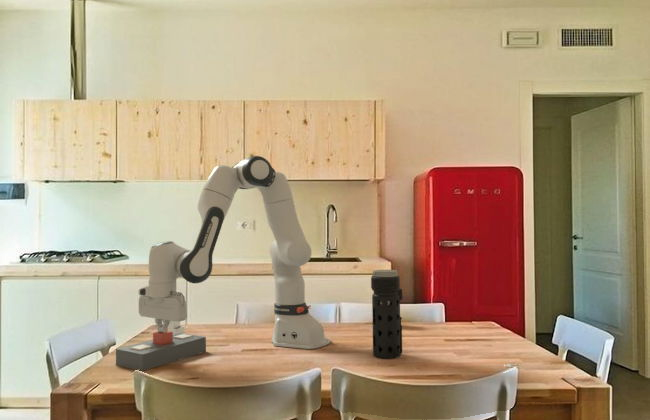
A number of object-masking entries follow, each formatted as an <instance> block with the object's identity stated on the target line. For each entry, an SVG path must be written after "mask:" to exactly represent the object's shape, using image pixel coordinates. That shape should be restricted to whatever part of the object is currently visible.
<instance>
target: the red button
mask: <svg viewBox="0 0 650 420" xmlns="http://www.w3.org/2000/svg"><path fill="white" fill-rule="evenodd" d="M152 340H153V344H157V345H165V344H169V343H173V332H171V331H169V330H168V331H167V332H166V333H161V332H158V331H156V332H152Z"/></svg>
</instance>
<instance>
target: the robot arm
mask: <svg viewBox="0 0 650 420" xmlns="http://www.w3.org/2000/svg"><path fill="white" fill-rule="evenodd" d="M255 188H256V189H258V191H259V192H260V194H261V196H262V200H263V206H264V211H265V214H266V219H267V224H268V226H269V228H270V229H271V232H272V234H273V237H274V240H273V241H272V242H271V244H270V246H269V255H270V258H271V264H272V270H273V277H274V286H275V287H274V292H275V293H274V294H275V296H274V298H275V299H274V301H275V302H274V305H273V310H274V311H273V313H274V326H273V333H272V338H271V340H270V341H271V343H273V344H272V345H273V346H275V347H284V348H295V349H306V350H313V349H318V348H319V349H320V348H322V347H325V346H326V345H327V346H328V345H329V344H330V343H331V342H332V341H331V338H329V337H326V336H325V329H324V326H323V324H321V322H319V320H317V319H316V318H315V317H314V316H313V315H311V314H310V312H309V310H310V309H311V305H308V304H307V303H306V302H305V301H306V299H305V296H306V295H305V293H306V292H305V284H306V283H305V279H304V277H303V274H302V269H301V267H303V266H304V265H306V264H307V263H308V262H310V259H311V258H312V257H311V256H312V248H311V245H310V244H309V243H308V241H307V239H306V237H305V234H304V232H303V229H302V227H301V224H300V222H299V219H298V215H297V212H296V210H297V209H296V205H295V202H294V198H293V194H292V190H291V187H290V184H289V181H288V179H287V177H286V176H285V174H284V173H282V172H279V171H276V170H275V169H274V168H273V167H272V165H271V163H270V162H269V161H268V160H267V159H266V158H265V157H263V156H260V155H252V156H250V157H246V158H242V160H240V161H239V162H236V163H235V164H234V165H233V166H228V165H225V164H224V165H223V164H221V165H217V166H214V168H213V170H212V171H211V173H210V174H209V175H208V178H207V179H206V181H205V184H204V186H203V188H202V189H201V192H200V195H199V198H198V202H197V203H198V204H197V210H198V213H199V214H200V218H201V225H200V229H199V232H198V234H197V237H196V240H195V242H194V246H193V248H192V249H191V250H190V249H187V248H185V247H183V246H180V245H179V244H176V243H175V242H174V241H170V240H169V241H163V242H157V243H155V244H153V245H152V246H151V247H150V249H149V255H148V271H149V279H148V284H147V285H146V286H143V287H141V288H139V289H138V295H139V298H138V313H139V316H140V317H145V318H150V319H154V323H155V326H156V327H157V332H161V333H166V332H167V331H169V323H170V321H177V322H179V321H180V322H183V321H186V319H188V307H187V302H186V297H185V296H184V294H183V292H181V291H177V279H178V278H182V279H185V281H187V282H188V283H191V284H201V283H203V282H205V281H206V280H207V279H208V278H209V277H210V276H211V274H212V272H213V271H212V270H213V254H214V251H215V248H216V247H215V246H216V244H217V241H218V239H219V235H220V233H221V229H222V226H223V223H224V221H225V218H226V217H227V214H228V211H229V210H230V208H231V206H232V202H233V201H234V197H235V194H236V193H237V191H238V190H239V189H240V190H250V189H255Z"/></svg>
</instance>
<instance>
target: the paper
mask: <svg viewBox="0 0 650 420" xmlns="http://www.w3.org/2000/svg"><path fill="white" fill-rule="evenodd" d="M453 356H454V357H456V356H458V354H453ZM513 366H517V367H518V368H517V369H521V367H520V366H518V364H517V363H516V364H515V363H514V364H513V363H508V364H507V363H506V364H503V367H504V368H510V367H513Z"/></svg>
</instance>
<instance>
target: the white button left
mask: <svg viewBox="0 0 650 420" xmlns="http://www.w3.org/2000/svg"><path fill="white" fill-rule="evenodd" d="M150 348H152V346H148V345H143V344H142V345H138V346H134V347H131V350H136V351H143V350H146V349H150Z"/></svg>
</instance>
